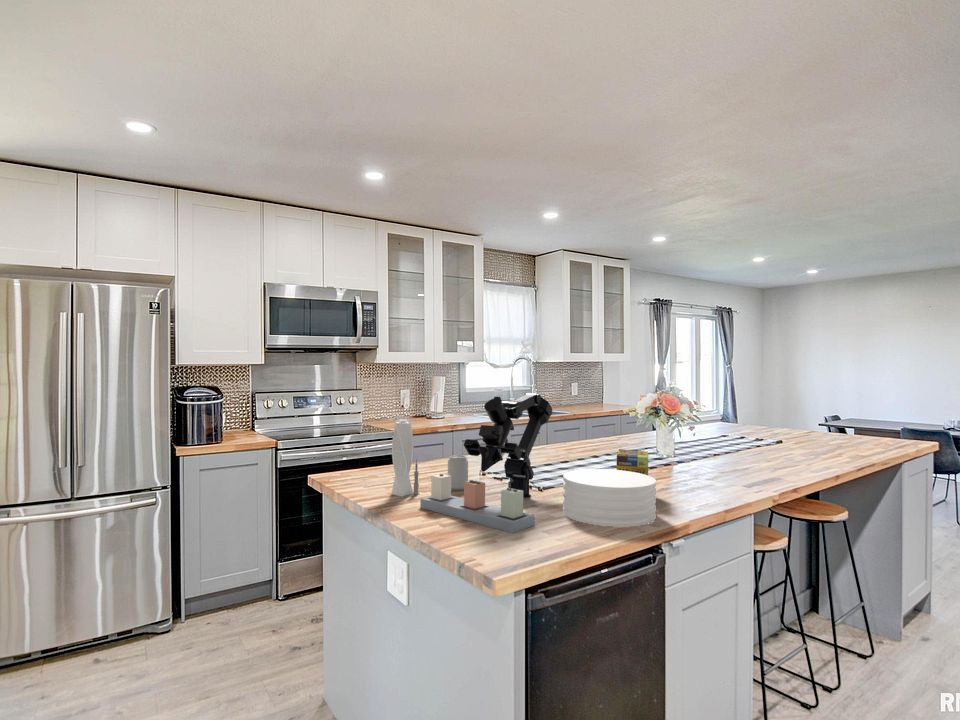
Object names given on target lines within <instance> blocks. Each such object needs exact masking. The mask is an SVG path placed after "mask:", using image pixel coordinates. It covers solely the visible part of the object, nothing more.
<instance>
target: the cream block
mask: <svg viewBox="0 0 960 720" xmlns="http://www.w3.org/2000/svg"><path fill="white" fill-rule="evenodd" d="M430 478H431V488H430V489H431V490H430V496H431V498H434V499H438V500H444V499H448V498H451V496H452V490H451V476H449V475H448V474H444V473H439V474H434V475H431V477H430Z"/></svg>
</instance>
